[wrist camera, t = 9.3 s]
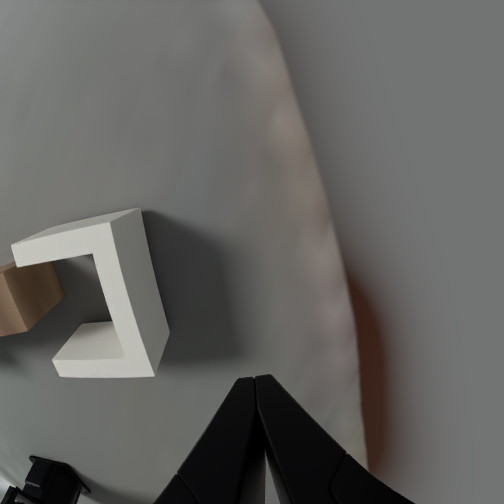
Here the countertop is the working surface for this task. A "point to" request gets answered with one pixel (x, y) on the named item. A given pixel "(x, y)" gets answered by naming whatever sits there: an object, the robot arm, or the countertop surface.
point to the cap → (108, 295)
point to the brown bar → (27, 295)
